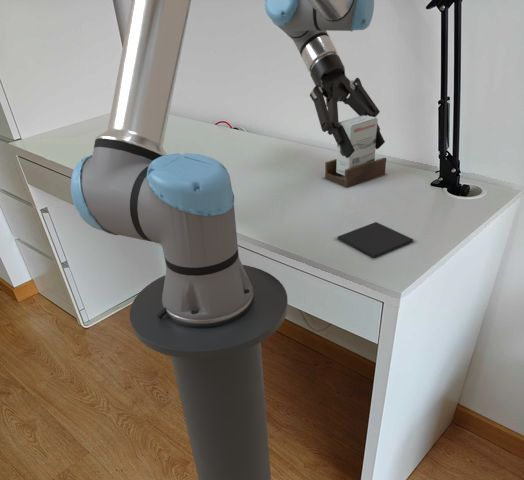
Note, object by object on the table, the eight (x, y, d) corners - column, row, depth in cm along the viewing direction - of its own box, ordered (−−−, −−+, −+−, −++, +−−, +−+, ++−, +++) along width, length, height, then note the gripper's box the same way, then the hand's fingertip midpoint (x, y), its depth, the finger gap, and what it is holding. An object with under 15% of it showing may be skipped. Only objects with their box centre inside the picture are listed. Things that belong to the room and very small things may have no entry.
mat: (373, 258, 90) (373, 255, 90) (337, 239, 97) (337, 236, 96) (412, 241, 94) (413, 239, 94) (375, 224, 101) (375, 221, 100)
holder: (346, 187, 117) (347, 170, 115) (324, 178, 122) (325, 162, 120) (384, 174, 122) (386, 158, 120) (362, 166, 127) (363, 150, 125)
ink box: (360, 164, 125) (364, 113, 117) (374, 169, 122) (379, 117, 114) (334, 172, 121) (336, 121, 114) (348, 178, 118) (351, 125, 110)
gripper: (350, 68, 124) (389, 149, 123) (280, 82, 115) (322, 169, 115) (366, 46, 117) (408, 131, 116) (293, 59, 109) (338, 150, 108)
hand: (365, 149), depth 116 cm, fingers closed on ink box, 9 cm apart
